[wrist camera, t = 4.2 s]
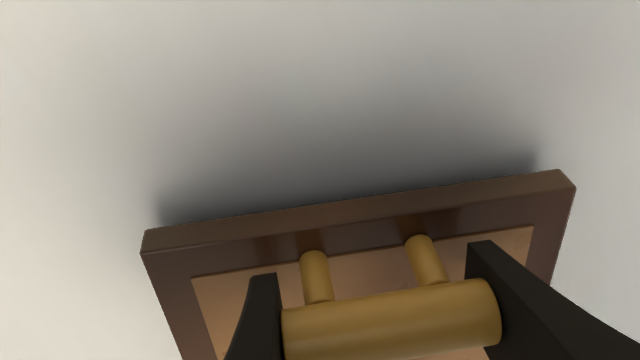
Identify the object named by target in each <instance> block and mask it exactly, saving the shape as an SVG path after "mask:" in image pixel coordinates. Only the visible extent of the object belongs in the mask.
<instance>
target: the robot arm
mask: <svg viewBox="0 0 640 360" xmlns="http://www.w3.org/2000/svg"><path fill="white" fill-rule="evenodd" d="M474 278H482V279H484V280H486V281H487V283H488V284H489V285H490V287H491V289H492V290H493V292H494V295H495V297H496V300H497V303H498V306H499V310H500V314H501V321H502V336H501V340H500V342H499V343H498V344H496V345H492V346H486V347H483V348H484V350H485V352H486V354H487V356H488V358H489V360H640V343H638V342H636V341H634V340H633V339H631V338H629V337H627V336H626V335H624V334H622V333H620V332H619V331H617V330H615V329H614V328H612V327H610V326H608V325H607V324H605V323H603V322H602V321H600V320H599V319H597V318H595V317H594V316H592V315H591V314H589V313H588V312H586V311H585V310H583V309H582V308H580V307H579V306H577V305H576V304H574V303H573V302H571V301H570V300H568V299H567V298H566V297H564V296H563V295H561V294H560V293H558V292H557V291H556V290H554V289H553V288H552V287H550V286H549V285H548V284H546V283H545V282H544V281H542V280H541V279H540V278H538V277H537V276H536V275H534V274H533V273H532V272H530V271H529V270H528V269H527V268H525V267H524V266H523V265H522V264H520V263H519V262H518V261H517V260H515V259H514V258H513V257H511V256H510V255H509V254H508V253H506V252H505V251H504V250H503V249H501V248H500V247H499V246H498V245H496V244H495V243H494V242H493V241H491V240H490V239H489V240H482V241H476V242H469V243H467V253H466V264H465V274H464V280H467V279H474ZM282 309H283V305H282V300H281V294H280V289H279V283H278V278H277V272H273V273H267V274H260V275H254V276H252V277H251V278H250V279H249V285H248V290H247V294H246V298H245V302H244V306H243V309H242V312H241V315H240V318H239V321H238V324H237V327H236V329H235V332H234V335H233V337H232V340H231V343H230V345H229V348H228V350H227V352H226V355H225V357H224V359H223V360H285V357H284V350H283V342H282V334H281V323H280V311H281V310H282Z"/></svg>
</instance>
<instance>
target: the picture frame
mask: <svg viewBox="0 0 640 360" xmlns="http://www.w3.org/2000/svg"><path fill="white" fill-rule="evenodd" d="M575 193H576V186H575V185H574V184H573V183H572V182H571V181H570V180H569V179H568V178H567V176H566V175H565V174H564V173H563V172H562V171H561V170H560V169H553V170H546V171H539V172H533V173H526V174H519V175H512V176H505V177H499V178H492V179H485V180H478V181H472V182H465V183H458V184H451V185H444V186H438V187H431V188H424V189H417V190H410V191H404V192H397V193H390V194H383V195H376V196H370V197H363V198H356V199H349V200H343V201H336V202H329V203H322V204H315V205H309V206H302V207H295V208H288V209H281V210H275V211H268V212H261V213H254V214H248V215H241V216H234V217H227V218H220V219H214V220H207V221H200V222H193V223H186V224H180V225H173V226H166V227H159V228H152V229H147V230H145V232H144V236H143V240H142V245H141V249H140V256H141V258H142V261H143V263H144V265H145V268H146V270H147V273H148V275H149V278H150V280H151V283H152V285H153V288H154V290H155V292H156V295H157V297H158V300H159V302H160V305H161V307H162V310H163V312H164V315H165V317H166V319H167V322H168V324H169V327H170V329H171V332H172V334H173V337H174V339H175V342H176V344H177V346H178V349H179V351H180V354H181V356H182V359H183V360H223V359H224V357H225V355H226V352H227V350H228V348H229V345H230V343H231V340H232V337H233V335H234V332H235V329H236V327H237V324H238V321H239V318H240V315H241V312H242V309H243V306H244V302H245V298H246V294H247V290H248V285H249V279H250V278H251V277H252V276H254V275H260V274H267V273H273V272H277V278H278V283H279V289H280V294H281V300H282V305H283V309H282V310H281V311H280V323H281V334H282V342H283V350H284V357H285V360H489V358H488V356H487V354H486V352H485V350H484V348H483V347H486V346H492V345H496V344H498V343H499V342H500V340H501V336H502V321H501V314H500V310H499V306H498V303H497V300H496V297H495V295H494V292H493V290H492V289H491V287H490V285H489V284H488V283H487V281H486V280H484V279H482V278H474V279H467V280H464V274H465V264H466V253H467V243H469V242H476V241H482V240H489V239H490V240H491V241H493V242H494V243H495V244H496V245H498V246H499V247H500V248H501V249H503V250H504V251H505V252H506V253H508V254H509V255H510V256H511V257H513V258H514V259H515V260H517V261H518V262H519V263H520V264H522V265H523V266H524V267H525V268H527V269H528V270H529V271H530V272H532V273H533V274H534V275H536V276H537V277H538V278H540V279H541V280H542V281H544V282H545V283H546V284H548V285H549V286H550V282H551V279H552V275H553V272H554V268H555V264H556V261H557V257H558V254H559V250H560V247H561V243H562V239H563V236H564V232H565V229H566V225H567V222H568V218H569V214H570V211H571V207H572V204H573V200H574V197H575Z"/></svg>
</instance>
